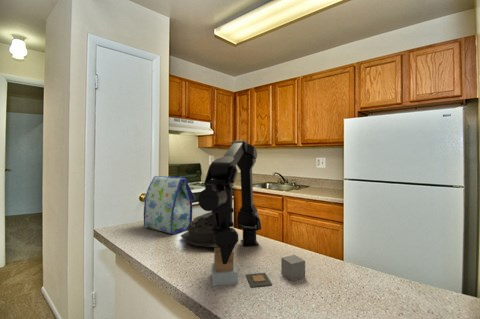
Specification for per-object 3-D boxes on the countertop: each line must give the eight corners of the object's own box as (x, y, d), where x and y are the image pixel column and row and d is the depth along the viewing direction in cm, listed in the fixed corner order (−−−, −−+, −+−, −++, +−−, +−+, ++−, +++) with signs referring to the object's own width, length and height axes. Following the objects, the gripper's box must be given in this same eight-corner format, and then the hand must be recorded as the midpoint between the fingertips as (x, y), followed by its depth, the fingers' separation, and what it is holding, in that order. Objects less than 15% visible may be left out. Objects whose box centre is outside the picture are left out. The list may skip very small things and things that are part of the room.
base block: (211, 274, 75) (211, 263, 75) (234, 272, 76) (234, 261, 76) (213, 286, 68) (213, 274, 68) (238, 284, 69) (238, 272, 69)
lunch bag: (196, 227, 124) (196, 176, 124) (171, 236, 110) (171, 178, 110) (166, 221, 136) (166, 174, 136) (140, 228, 122) (140, 176, 122)
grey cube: (281, 273, 75) (281, 257, 75) (294, 270, 77) (294, 254, 77) (291, 281, 70) (291, 263, 70) (305, 277, 73) (305, 260, 73)
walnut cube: (214, 264, 74) (214, 248, 74) (230, 263, 75) (230, 246, 75) (215, 272, 69) (215, 254, 69) (233, 270, 70) (233, 253, 70)
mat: (245, 275, 74) (245, 273, 74) (265, 273, 75) (265, 271, 75) (251, 287, 67) (251, 285, 67) (272, 285, 68) (272, 283, 68)
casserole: (244, 242, 102) (244, 222, 102) (212, 256, 88) (212, 233, 88) (203, 231, 118) (203, 214, 118) (170, 241, 103) (170, 222, 103)
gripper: (194, 199, 80) (195, 247, 80) (194, 212, 61) (194, 274, 61) (228, 198, 82) (229, 245, 82) (238, 210, 63) (238, 270, 63)
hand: (222, 257), depth 72 cm, fingers open, 9 cm apart
